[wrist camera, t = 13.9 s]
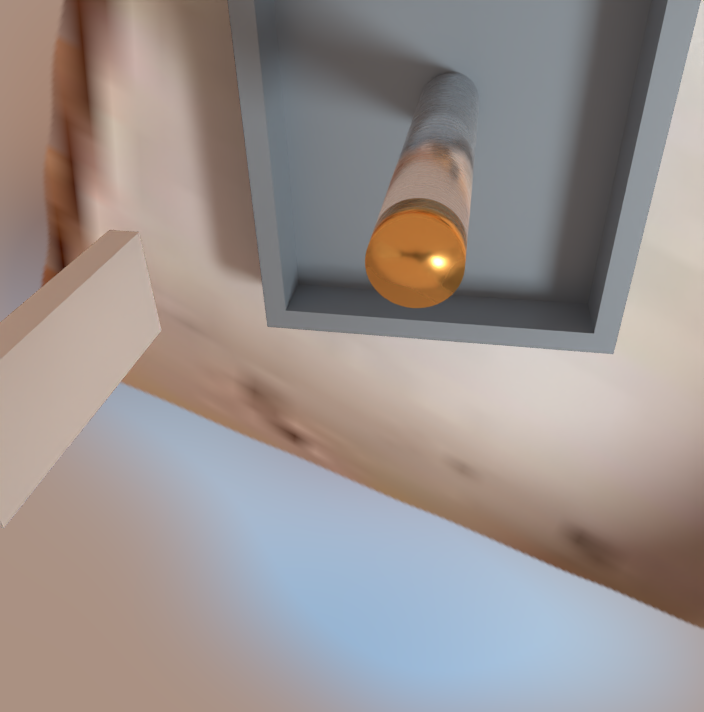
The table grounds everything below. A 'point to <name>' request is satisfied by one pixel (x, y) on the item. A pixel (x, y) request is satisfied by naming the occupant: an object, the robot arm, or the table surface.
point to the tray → (491, 164)
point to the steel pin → (428, 199)
